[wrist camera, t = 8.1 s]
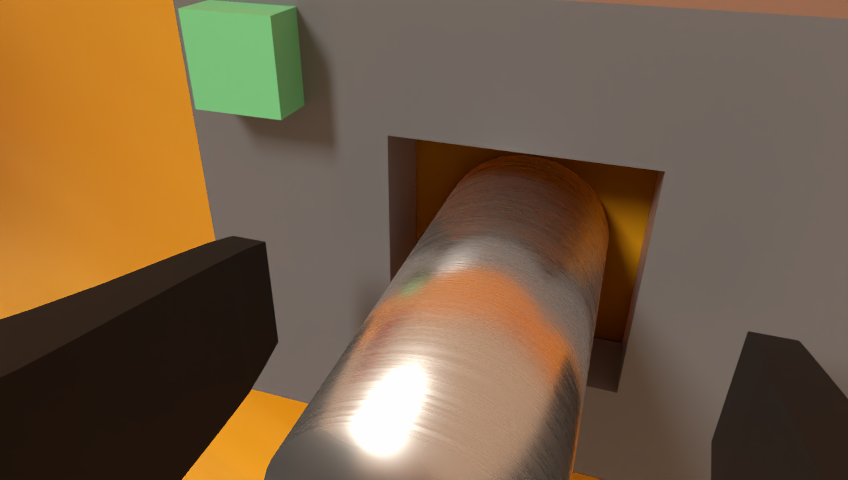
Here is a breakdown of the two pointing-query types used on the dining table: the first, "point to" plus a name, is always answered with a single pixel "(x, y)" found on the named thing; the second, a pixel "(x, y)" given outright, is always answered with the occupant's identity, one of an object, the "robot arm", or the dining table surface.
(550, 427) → the battery cell
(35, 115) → the dining table surface
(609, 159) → the block
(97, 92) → the dining table surface
